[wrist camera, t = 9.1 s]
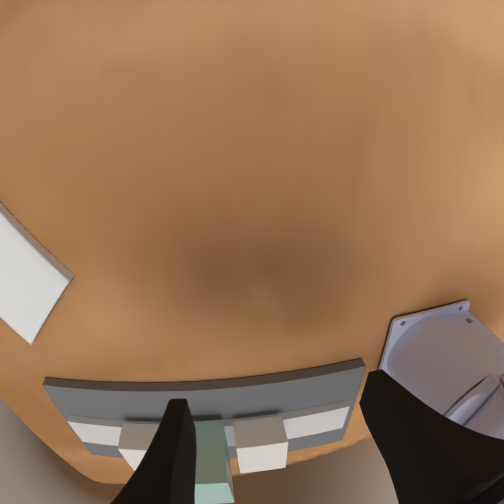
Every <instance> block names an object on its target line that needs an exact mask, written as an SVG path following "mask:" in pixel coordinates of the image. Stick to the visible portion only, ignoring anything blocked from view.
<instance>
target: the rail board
mask: <svg viewBox="0 0 504 504" xmlns="http://www.w3.org/2000/svg"><path fill="white" fill-rule="evenodd" d="M365 367H366V366H365V364H364V362H363V361H362V359H356V360H352V361H347V362H342V363H337V364H332V365H327V366H321V367H316V368H310V369H304V370H298V371H291V372H284V373H277V374H270V375H262V376H253V377H244V378H234V379H222V380H209V381H192V382H164V383H122V382H96V381H80V380H67V379H56V378H47V377H46V378H45V380H44V382H43V384H42V385H43V387H44V389H45V390H46V392H47V393H48V395H49V397H50V398H51V400H52V401H53V403H54V404H55V406H56V407H57V409H58V410H59V412H60V413H61V414H62V416H63V417H64V419H65V420H66V422H67V423H68V424H69V426H70V427H71V428H72V430H73V431H74V432H75V434H76V435H77V436H78V438H79V439H80V440H81V441H82V443H83V444H84V445H85V446H86V448H87V449H88V450H89V451H90V452H91V454H94V455H101V456H109V457H118V458H125V459H126V461H127V462H128V463H129V465H130V466H131V467H132V468H133V470H134V471H135V470H136V469H137V467H138V465H139V464H140V462H141V460H142V458H143V457H144V455H145V453H146V451H147V449H148V448H149V446H150V444H151V442H152V440H153V437H154V435H155V433H156V431H157V429H158V427H159V424H160V422H161V420H162V417H163V415H164V412H165V409H166V407H167V404H168V401H169V400H170V399H184V398H186V399H187V402H188V406H189V409H190V412H191V415H192V418H193V421H194V422H207V421H221V420H222V421H223V425H224V430H225V434H226V439H227V443H228V448H229V456H230V459H232V458H238V462H239V467H240V473H247V472H256V471H264V470H271V469H278V468H284V467H285V466H286V457H287V452H288V451H294V450H299V449H304V448H309V447H314V446H319V445H323V444H328V443H332V442H336V441H340V440H342V439H343V436H344V434H345V431H346V428H347V425H348V422H349V419H350V416H351V413H352V410H353V407H354V404H355V401H356V398H357V395H358V391H359V388H360V385H361V381H362V378H363V374H364V371H365Z"/></svg>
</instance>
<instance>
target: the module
mask: <svg viewBox="0 0 504 504" xmlns="http://www.w3.org/2000/svg"><path fill="white" fill-rule="evenodd" d="M194 425H195V428H196V444H197V457H196V477H195V504H218V503H234V494H233V484H232V475H231V466H230V456H229V448H228V443H227V439H226V434H225V430H224V425H223V421H222V420H221V421H207V422H194Z"/></svg>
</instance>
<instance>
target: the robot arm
mask: <svg viewBox="0 0 504 504" xmlns="http://www.w3.org/2000/svg"><path fill="white" fill-rule="evenodd" d="M469 307H470V302H469V301H468V300H465V301H461V302H457V303H454V304H450V305H446V306H442V307H438V308H434V309H430V310H426V311H422V312H418V313H413V314H409V315H405V316H400V317H396V318H395V319H393V321H392V322H391V326H390V330H389V334H388V337H387V341H386V345H385V348H384V352H383V355H382V359H381V362H380V365H379V369H378V370H376V371H373V372H369V374H368V377H367V381H366V384H365V387H364V390H363V394H362V397H361V400H360V403H359V404H360V407H361V410H362V413H363V416H364V419H365V422H366V424H367V426H368V428H369V430H370V432H371V434H372V436H373V438H374V440H375V442H376V444H377V446H378V448H379V450H380V452H381V454H382V456H383V458H384V460H385V462H386V465H387V467H388V470H389V473H390V476H391V479H392V481H393V485H394V488H395V491H396V495H397V499H398V502H399V504H504V344H503V342H502V341H501V340H500V339H499V338H498V337H497V336H496V335H494V334H493V333H492V332H491V331H490V330H489V329H488V328H487V327H486V326H485V325H484V324H483V323H481V322H480V321H479V320H478V319H477V318H476V317H475V316H474V315H473V314H471V313H470V312H469V311H468V310H469ZM402 321H403V322H402ZM401 322H402V323H401ZM196 457H197V444H196V428H195V425H194V421H193V418H192V415H191V412H190V409H189V406H188V402H187V399H186V398H184V399H170V400H169V401H168V404H167V407H166V409H165V412H164V415H163V417H162V420H161V422H160V424H159V427H158V429H157V431H156V433H155V435H154V437H153V440H152V442H151V444H150V446H149V448H148V449H147V451H146V453H145V455H144V457H143V458H142V460H141V462H140V464H139V465H138V467H137V469H136V470H135V472H134V473H133V475H132V476H131V478H130V479H129V481H128V482H127V484H126V485H125V487H124V488H123V489H122V490H121V491H120V493H119V494H118V495H117V497H116V498H115V499H114V500H113V501H112V503H111V504H195V477H196Z"/></svg>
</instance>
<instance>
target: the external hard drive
mask: <svg viewBox="0 0 504 504" xmlns="http://www.w3.org/2000/svg"><path fill="white" fill-rule="evenodd" d="M73 277H74V275H73V274H72V273H71V272H70V271H69V270H68V269H66V268H65V267H64V266H63V265H62V264H61V263H60V262H59V261H58V260H57V259H56V258H54V257H53V256H52V255H51V254H50V253H49V252H48V251H47V250H46V249H45V248H44V247H43V246H42V245H41V244H40V243H39V242H38V241H37V240H36V239H35V238H34V237H33V236H32V235H31V234H30V233H29V232H28V231H27V230H26V229H25V228H24V227H23V226H22V225H21V224H20V223H19V222H18V221H17V220H16V219H15V218H14V217H13V216H12V215H11V213H10V212H9V211H8V210H7V209H6V208H5V207H4V206H3V205H2V204H1V202H0V317H1V318H2V319H3V320H4V321H5V322H6V323H7V324H8V325H9V326H11V327H12V328H13V329H14V330H15V331H16V332H17V333H18V334H19V335H21V336H22V337H23V338H24V339H25V340H26V341H27V342H29V343H30V344H32V343H33V342H34V340H35V339H36V337H37V335H38V333H39V331H40V330H41V328H42V326H43V325H44V323H45V321H46V319H47V318H48V316H49V314H50V313H51V311H52V310H53V308H54V306H55V305H56V303H57V302H58V300H59V298H60V297H61V295H62V294H63V292H64V291H65V289H66V288H67V286H68V285H69V283H70V282H71V280H72V279H73Z"/></svg>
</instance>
